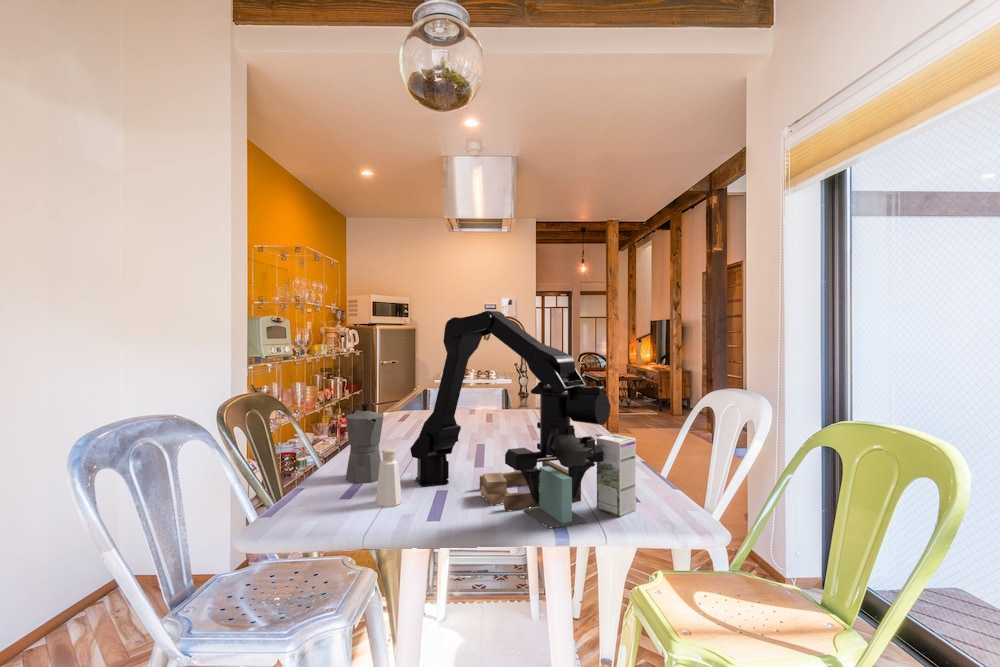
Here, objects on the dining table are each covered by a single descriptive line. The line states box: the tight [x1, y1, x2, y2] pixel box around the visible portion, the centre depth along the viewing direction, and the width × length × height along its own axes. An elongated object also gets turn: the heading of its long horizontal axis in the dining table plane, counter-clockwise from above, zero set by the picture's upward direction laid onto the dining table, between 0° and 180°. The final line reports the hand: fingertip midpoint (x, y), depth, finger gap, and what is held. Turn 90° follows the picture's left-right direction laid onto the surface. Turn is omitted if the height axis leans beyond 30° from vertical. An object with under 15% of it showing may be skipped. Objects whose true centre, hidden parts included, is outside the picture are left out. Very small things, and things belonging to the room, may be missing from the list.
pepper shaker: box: [375, 447, 403, 508], centre depth 102 cm, size 5×5×11 cm
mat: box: [524, 506, 588, 529], centre depth 95 cm, size 8×10×1 cm
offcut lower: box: [480, 485, 511, 506], centre depth 105 cm, size 4×7×2 cm, turn 22°
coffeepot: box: [345, 402, 384, 484], centre depth 121 cm, size 15×9×18 cm, turn 35°
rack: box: [479, 461, 582, 512], centre depth 108 cm, size 17×15×5 cm
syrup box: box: [596, 433, 637, 517], centre depth 99 cm, size 6×6×14 cm
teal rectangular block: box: [539, 466, 573, 523], centre depth 95 cm, size 2×9×8 cm, turn 23°
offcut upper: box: [482, 472, 508, 494], centre depth 105 cm, size 4×6×2 cm, turn 10°
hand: (554, 500), depth 95 cm, fingers open, 8 cm apart
